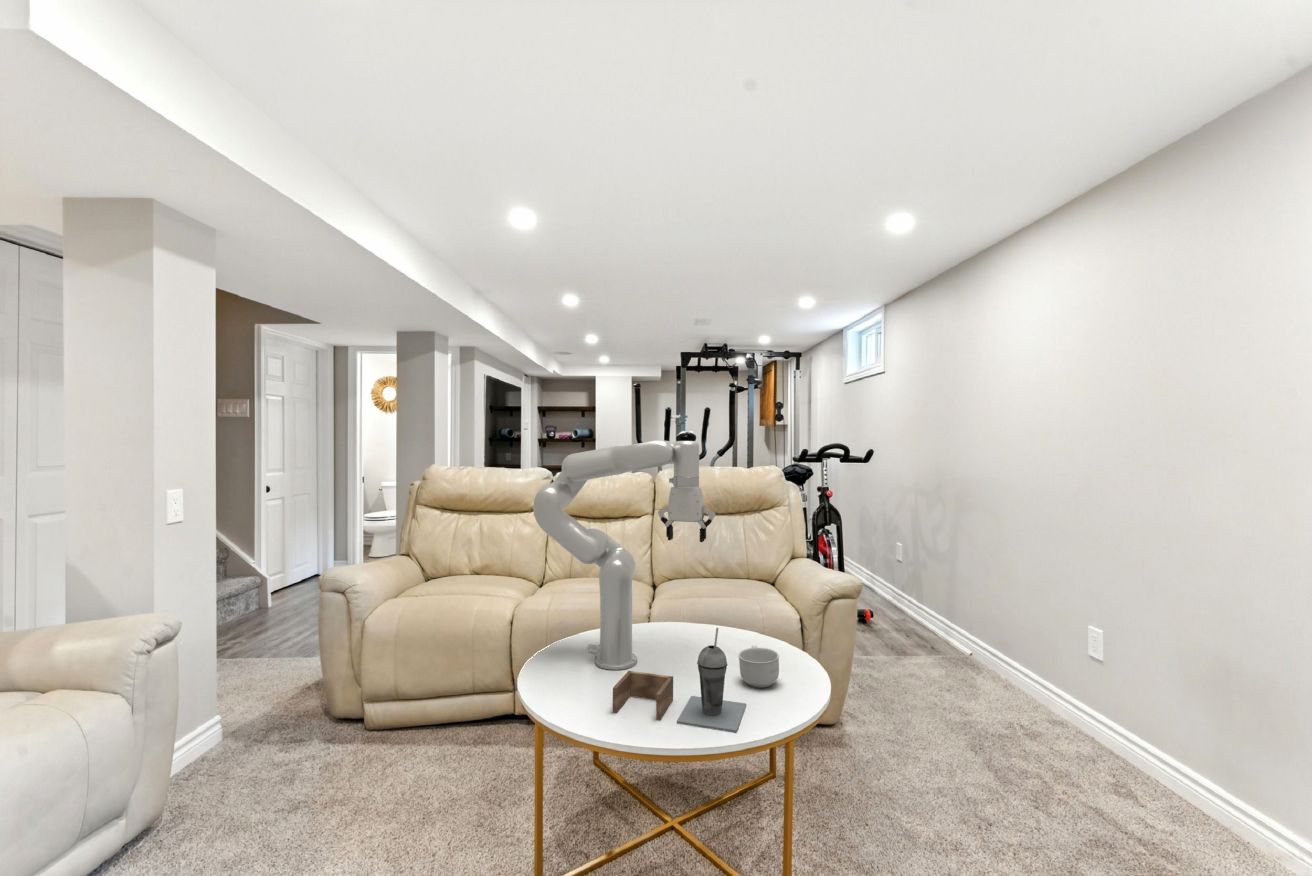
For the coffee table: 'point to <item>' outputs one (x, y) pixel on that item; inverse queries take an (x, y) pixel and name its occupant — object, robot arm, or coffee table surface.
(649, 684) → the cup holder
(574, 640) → the coffee table surface
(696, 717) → the slate mat
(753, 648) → the teacup
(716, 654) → the beverage cup
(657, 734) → the coffee table surface
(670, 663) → the coffee table surface
